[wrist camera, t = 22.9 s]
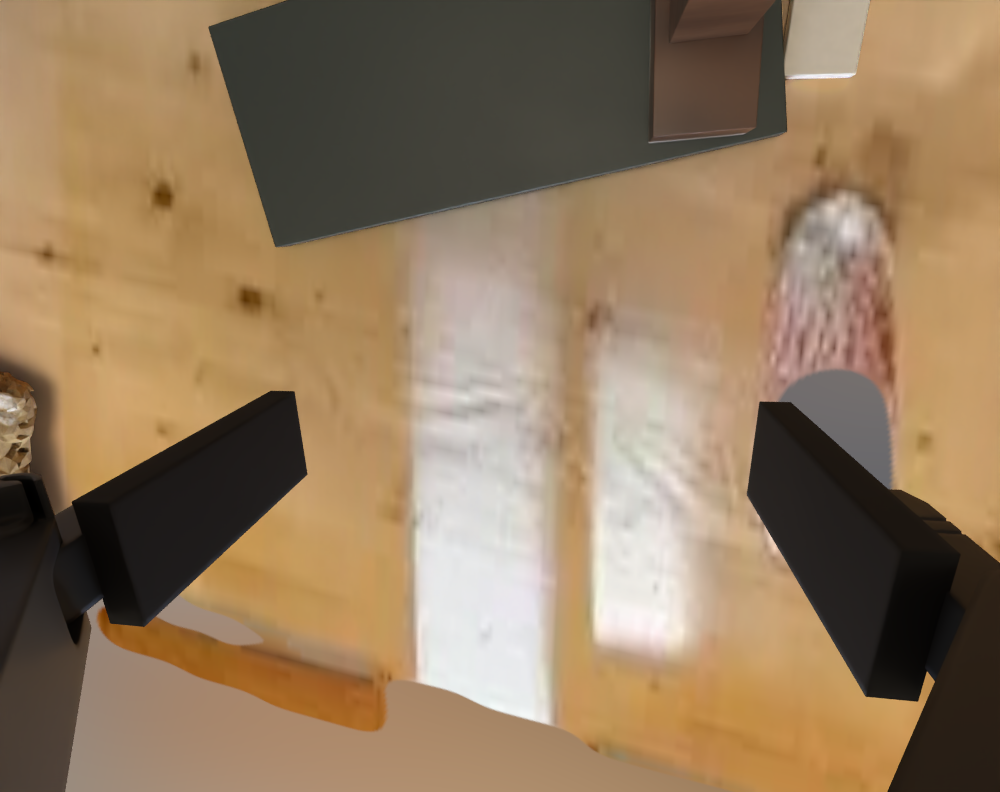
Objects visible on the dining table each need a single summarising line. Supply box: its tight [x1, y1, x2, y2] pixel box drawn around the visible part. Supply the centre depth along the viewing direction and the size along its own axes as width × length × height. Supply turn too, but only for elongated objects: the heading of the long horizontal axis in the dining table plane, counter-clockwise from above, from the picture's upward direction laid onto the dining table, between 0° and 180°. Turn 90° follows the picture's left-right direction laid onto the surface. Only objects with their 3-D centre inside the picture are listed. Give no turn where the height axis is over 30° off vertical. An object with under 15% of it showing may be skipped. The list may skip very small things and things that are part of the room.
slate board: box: [208, 0, 787, 247], centre depth 33 cm, size 14×34×2 cm, turn 102°
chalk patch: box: [783, 0, 870, 79], centre depth 30 cm, size 4×4×1 cm
